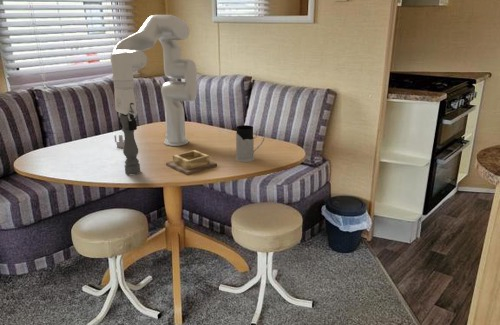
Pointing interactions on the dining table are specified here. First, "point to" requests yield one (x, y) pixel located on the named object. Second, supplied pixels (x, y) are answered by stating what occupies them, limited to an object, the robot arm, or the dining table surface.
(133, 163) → the candle holder
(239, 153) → the grey and black mug
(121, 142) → the architectural model
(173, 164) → the socket base
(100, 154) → the dining table surface
